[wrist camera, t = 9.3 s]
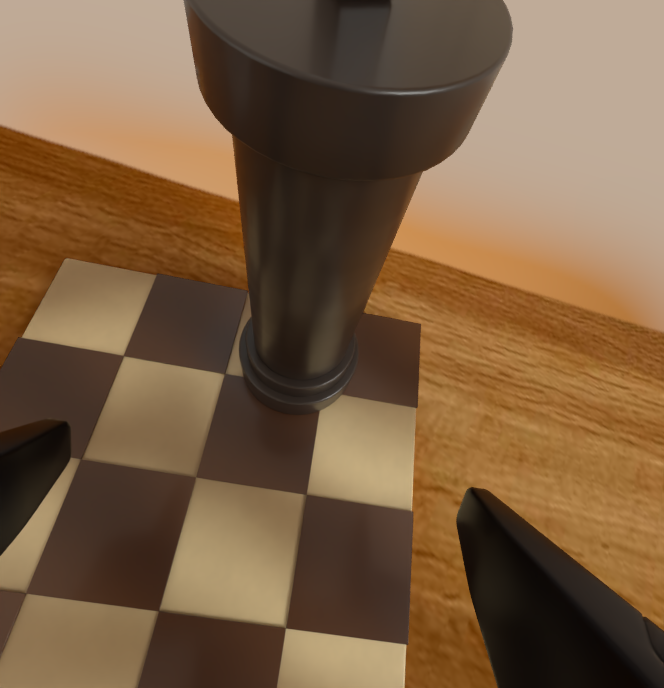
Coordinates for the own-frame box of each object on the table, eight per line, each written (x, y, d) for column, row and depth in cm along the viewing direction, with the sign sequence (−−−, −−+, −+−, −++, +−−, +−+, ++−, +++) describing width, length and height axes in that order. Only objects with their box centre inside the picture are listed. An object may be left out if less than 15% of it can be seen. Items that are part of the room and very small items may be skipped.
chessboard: (392, 800, 11) (401, 822, 11) (-179, 740, 10) (-217, 758, 10) (414, 332, 18) (421, 324, 18) (73, 267, 17) (63, 255, 17)
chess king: (367, 396, 16) (749, -114, 3) (258, 430, 15) (160, -170, 2) (330, 303, 17) (483, -279, 5) (229, 327, 16) (75, -364, 4)
